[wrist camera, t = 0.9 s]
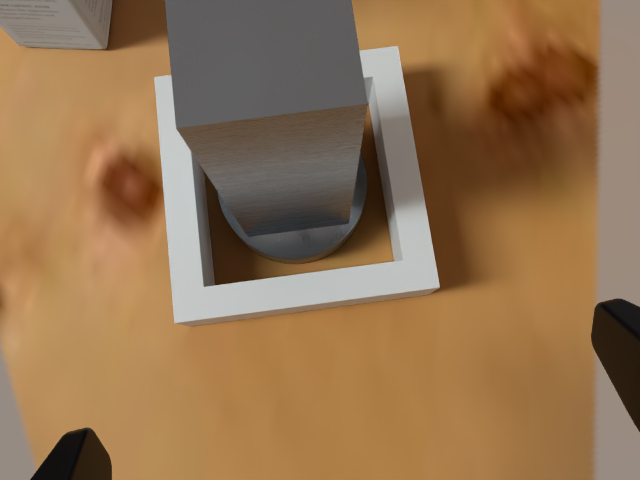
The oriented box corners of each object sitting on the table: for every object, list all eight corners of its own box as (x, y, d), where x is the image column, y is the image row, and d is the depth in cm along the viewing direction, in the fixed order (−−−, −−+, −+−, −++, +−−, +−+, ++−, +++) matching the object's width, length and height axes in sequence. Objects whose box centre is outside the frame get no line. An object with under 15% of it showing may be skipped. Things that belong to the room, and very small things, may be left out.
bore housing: (428, 294, 24) (439, 287, 22) (189, 326, 24) (174, 323, 22) (391, 75, 26) (397, 45, 24) (170, 103, 26) (154, 77, 24)
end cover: (373, 254, 25) (423, 142, 12) (233, 272, 25) (131, 180, 12) (353, 122, 26) (379, -108, 13) (219, 139, 26) (112, -75, 13)
